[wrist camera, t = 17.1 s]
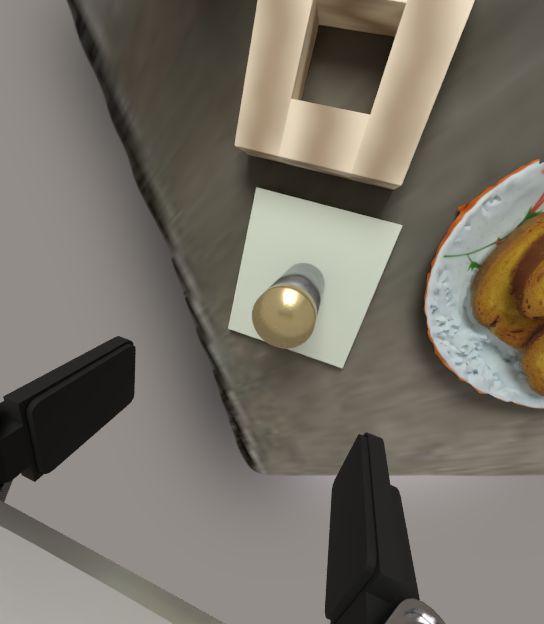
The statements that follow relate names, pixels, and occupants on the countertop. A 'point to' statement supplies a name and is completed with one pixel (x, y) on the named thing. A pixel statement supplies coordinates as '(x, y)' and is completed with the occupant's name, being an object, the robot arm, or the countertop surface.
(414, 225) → the countertop surface
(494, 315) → the food on plate
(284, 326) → the silver and gold cylinder
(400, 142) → the block
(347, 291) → the mat
